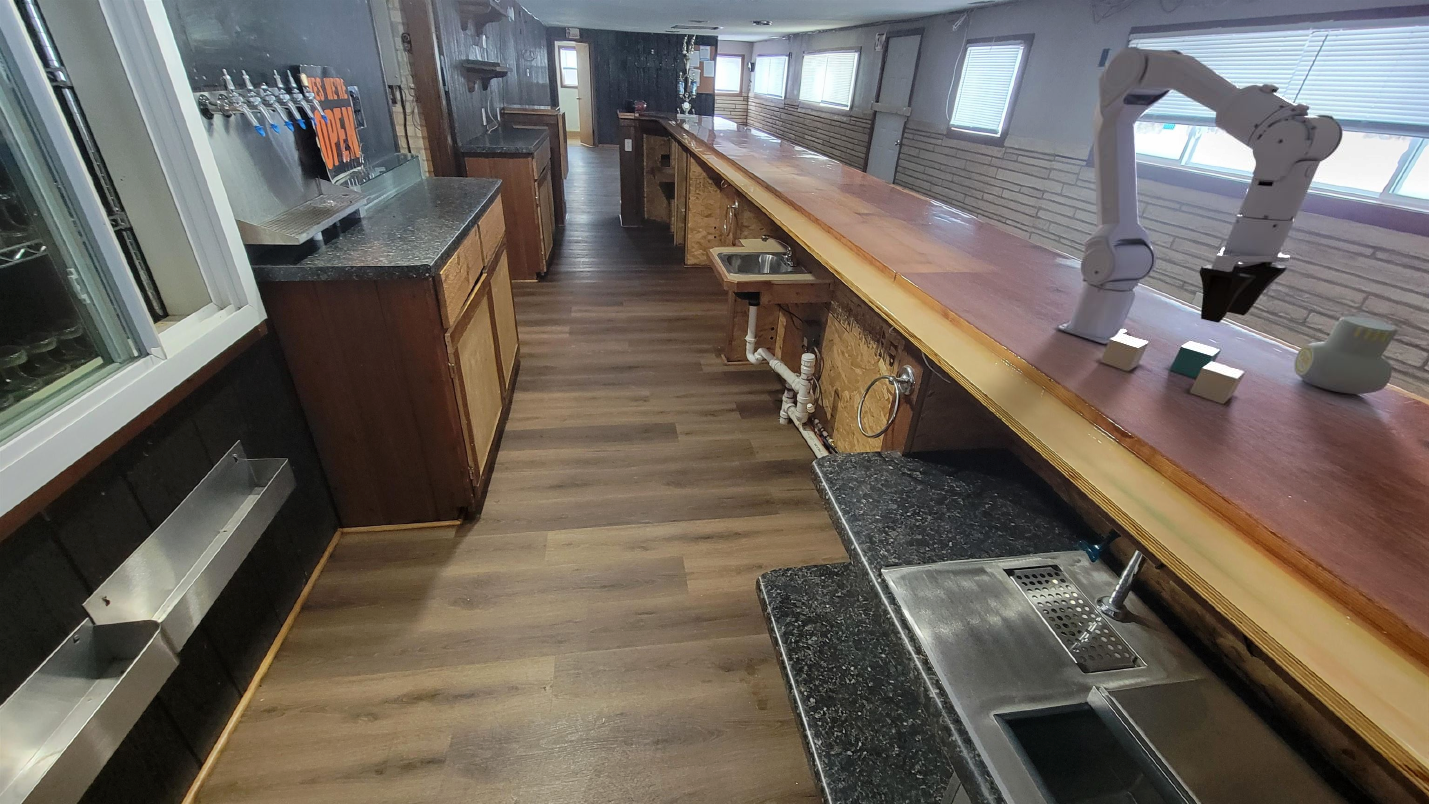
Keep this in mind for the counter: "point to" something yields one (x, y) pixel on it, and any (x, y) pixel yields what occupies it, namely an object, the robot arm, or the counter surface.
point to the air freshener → (1348, 357)
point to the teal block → (1193, 358)
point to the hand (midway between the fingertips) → (1223, 317)
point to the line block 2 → (1217, 382)
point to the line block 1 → (1124, 352)
